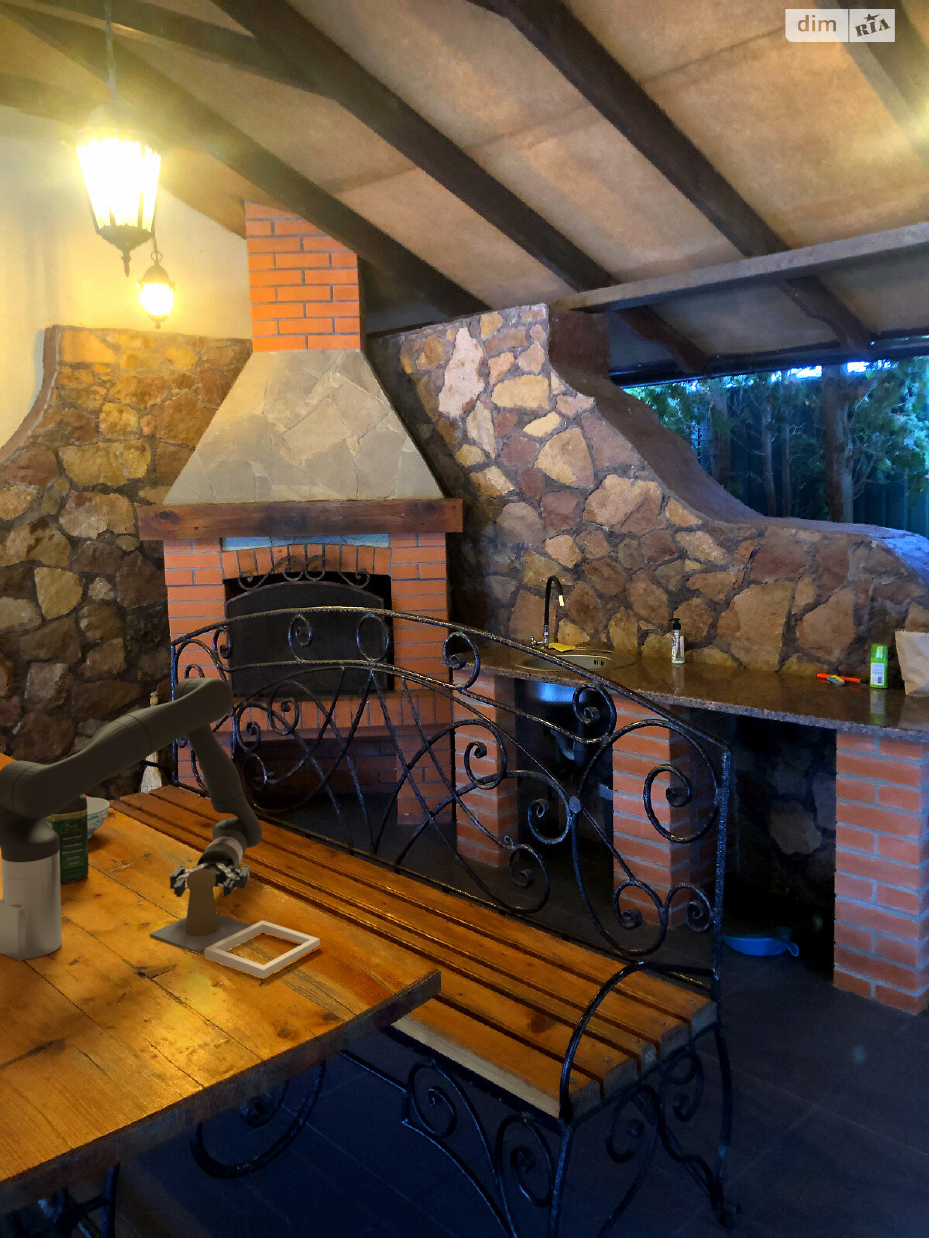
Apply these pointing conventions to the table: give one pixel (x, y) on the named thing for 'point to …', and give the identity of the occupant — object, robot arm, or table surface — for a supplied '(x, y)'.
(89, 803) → the chinaware
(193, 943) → the mat
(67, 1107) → the table surface
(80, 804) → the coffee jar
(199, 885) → the cork
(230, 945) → the white square frame
